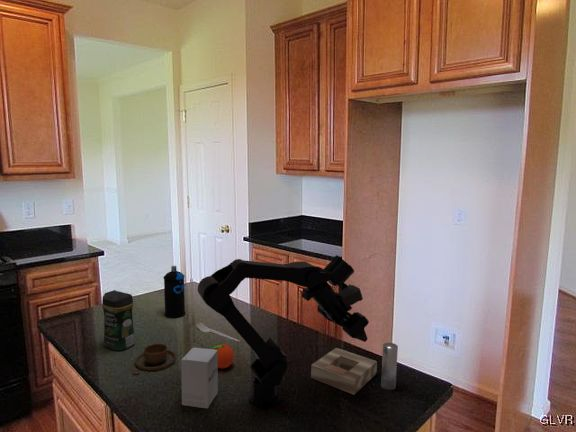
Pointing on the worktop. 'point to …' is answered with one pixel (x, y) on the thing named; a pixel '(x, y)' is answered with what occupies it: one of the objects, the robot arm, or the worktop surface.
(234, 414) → the worktop surface
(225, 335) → the white plastic spoon
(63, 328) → the worktop surface
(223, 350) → the clementine
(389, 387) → the peg
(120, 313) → the coffee jar
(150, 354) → the place setting
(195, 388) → the supplement box
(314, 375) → the hole block
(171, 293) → the aerosol can
